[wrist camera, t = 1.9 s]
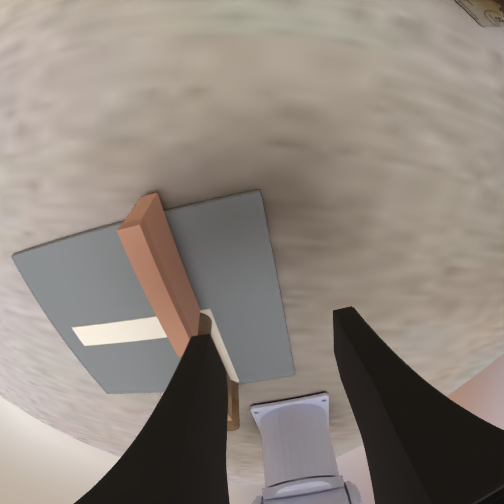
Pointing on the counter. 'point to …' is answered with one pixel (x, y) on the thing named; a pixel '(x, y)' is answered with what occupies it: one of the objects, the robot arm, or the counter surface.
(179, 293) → the swing panel
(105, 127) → the counter surface
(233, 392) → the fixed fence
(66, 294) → the card
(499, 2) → the coffee box
